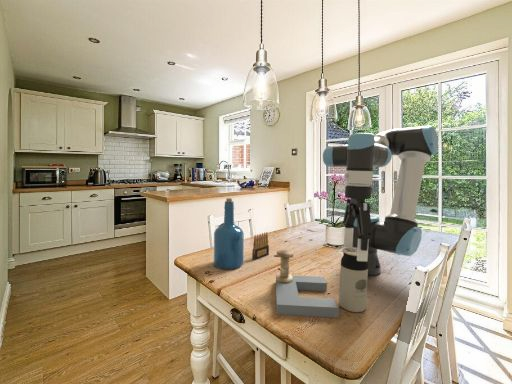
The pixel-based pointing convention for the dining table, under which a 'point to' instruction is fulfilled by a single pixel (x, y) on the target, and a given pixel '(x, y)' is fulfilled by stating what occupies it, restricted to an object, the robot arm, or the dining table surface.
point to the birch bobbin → (284, 266)
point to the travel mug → (353, 281)
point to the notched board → (304, 298)
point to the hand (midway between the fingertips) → (354, 253)
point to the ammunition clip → (260, 246)
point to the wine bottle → (228, 241)
